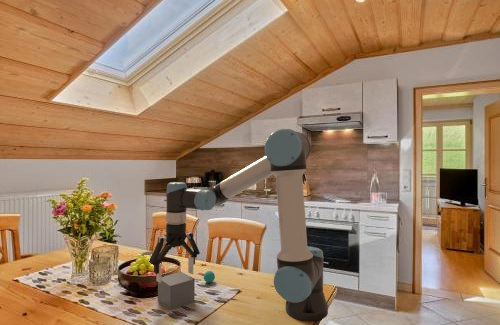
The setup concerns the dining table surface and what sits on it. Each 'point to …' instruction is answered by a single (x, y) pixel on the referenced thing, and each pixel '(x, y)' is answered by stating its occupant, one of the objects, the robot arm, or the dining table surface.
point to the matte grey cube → (176, 290)
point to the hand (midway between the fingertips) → (175, 277)
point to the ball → (209, 276)
